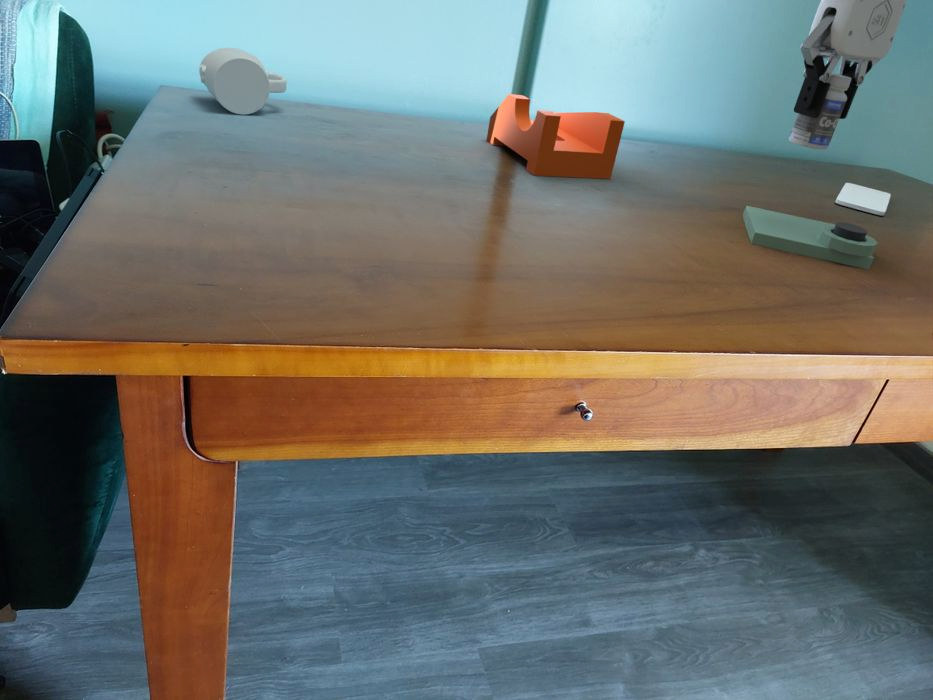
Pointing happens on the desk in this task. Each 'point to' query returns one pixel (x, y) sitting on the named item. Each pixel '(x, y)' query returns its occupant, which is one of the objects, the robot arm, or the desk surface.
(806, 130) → the pill bottle
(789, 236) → the scale
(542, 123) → the tape dispenser
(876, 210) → the smartphone
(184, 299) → the desk surface
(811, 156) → the desk surface
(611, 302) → the desk surface
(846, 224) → the scale button
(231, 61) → the mug
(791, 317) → the desk surface
